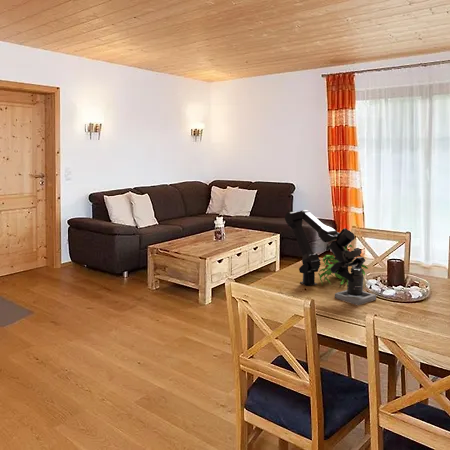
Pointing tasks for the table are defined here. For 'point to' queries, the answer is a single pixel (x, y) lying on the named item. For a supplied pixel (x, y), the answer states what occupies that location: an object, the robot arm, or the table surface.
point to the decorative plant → (331, 263)
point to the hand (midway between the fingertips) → (358, 280)
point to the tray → (355, 297)
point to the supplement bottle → (356, 282)
